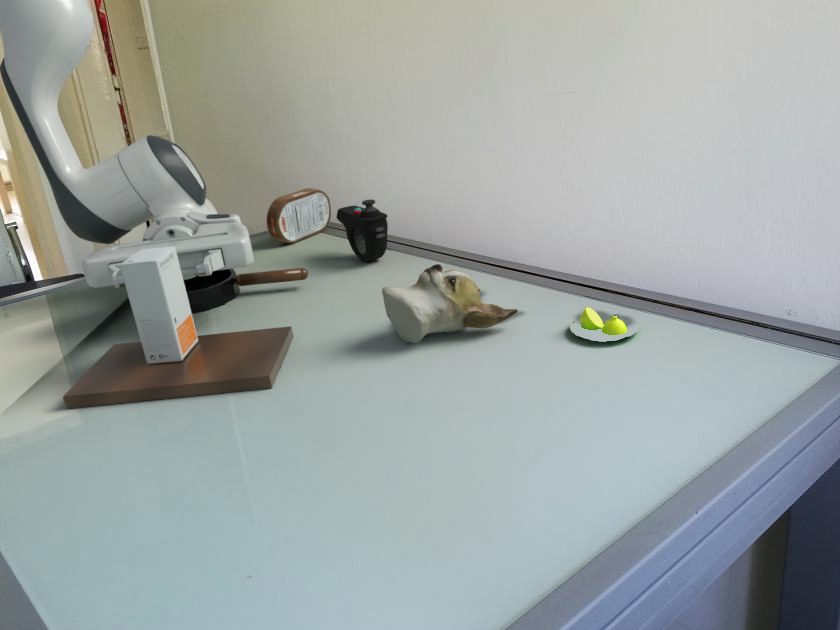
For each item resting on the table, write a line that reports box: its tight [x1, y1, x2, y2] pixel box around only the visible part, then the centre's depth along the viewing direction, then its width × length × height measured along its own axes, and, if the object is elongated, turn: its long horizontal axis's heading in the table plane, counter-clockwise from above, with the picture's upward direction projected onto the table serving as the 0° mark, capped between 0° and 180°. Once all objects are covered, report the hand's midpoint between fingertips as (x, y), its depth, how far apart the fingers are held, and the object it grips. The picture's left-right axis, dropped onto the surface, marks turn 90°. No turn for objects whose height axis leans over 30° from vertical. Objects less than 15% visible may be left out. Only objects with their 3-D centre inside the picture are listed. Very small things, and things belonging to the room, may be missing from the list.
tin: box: [266, 187, 332, 244], centre depth 133 cm, size 15×3×8 cm, turn 149°
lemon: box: [579, 307, 627, 335], centre depth 83 cm, size 8×8×3 cm
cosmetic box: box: [120, 247, 198, 364], centre depth 83 cm, size 6×4×12 cm
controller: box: [336, 199, 389, 262], centre depth 117 cm, size 4×12×10 cm, turn 34°
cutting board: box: [62, 325, 294, 410], centre depth 83 cm, size 22×14×2 cm, turn 93°
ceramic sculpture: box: [381, 263, 519, 344], centre depth 86 cm, size 11×9×15 cm
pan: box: [183, 267, 309, 315], centre depth 107 cm, size 24×13×3 cm, turn 92°
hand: (161, 275), depth 85 cm, fingers open, 8 cm apart
